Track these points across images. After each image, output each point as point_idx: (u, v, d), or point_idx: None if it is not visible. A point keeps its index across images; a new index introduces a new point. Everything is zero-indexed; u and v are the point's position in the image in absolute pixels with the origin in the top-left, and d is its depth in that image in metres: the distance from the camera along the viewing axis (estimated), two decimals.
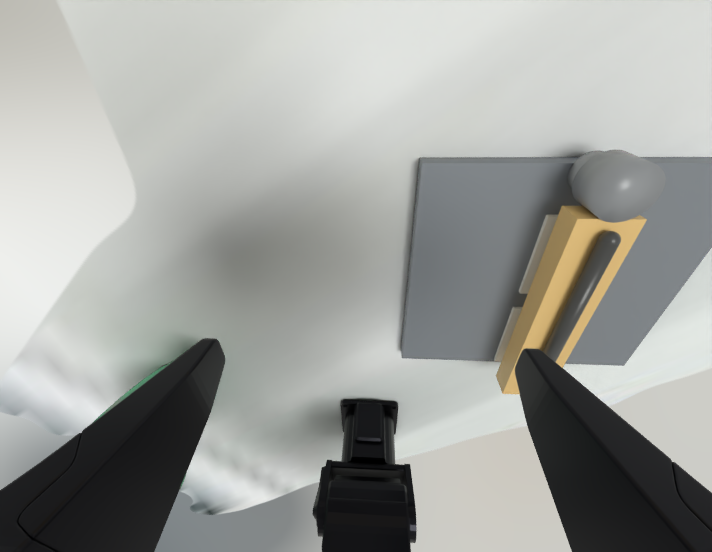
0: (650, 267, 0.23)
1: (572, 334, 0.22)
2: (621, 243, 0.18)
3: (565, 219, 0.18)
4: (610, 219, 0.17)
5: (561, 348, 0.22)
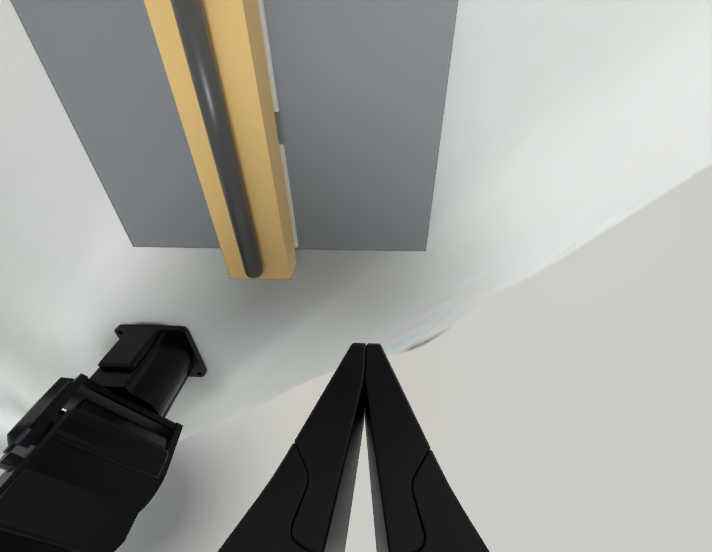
0: (384, 51, 0.15)
1: (255, 151, 0.14)
2: None
3: None
4: None
5: (226, 166, 0.14)
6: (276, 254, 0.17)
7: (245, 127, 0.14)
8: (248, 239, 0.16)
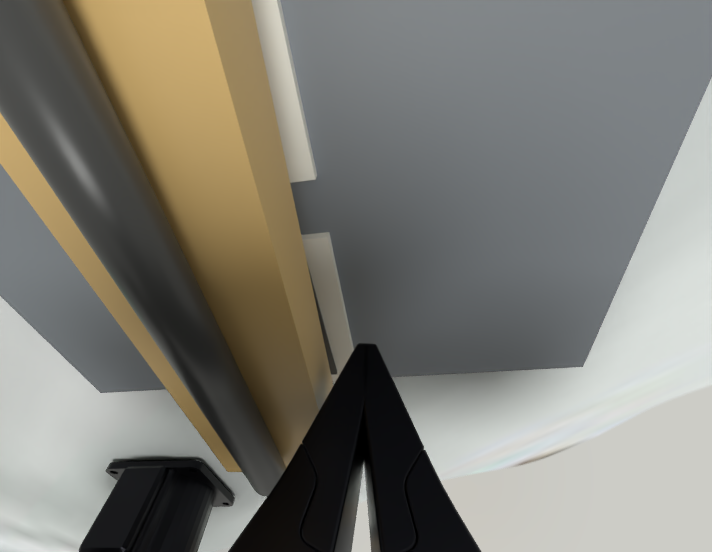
0: (567, 13, 0.06)
1: (258, 303, 0.06)
2: None
3: None
4: None
5: (189, 359, 0.05)
6: None
7: (228, 260, 0.05)
8: (255, 455, 0.08)
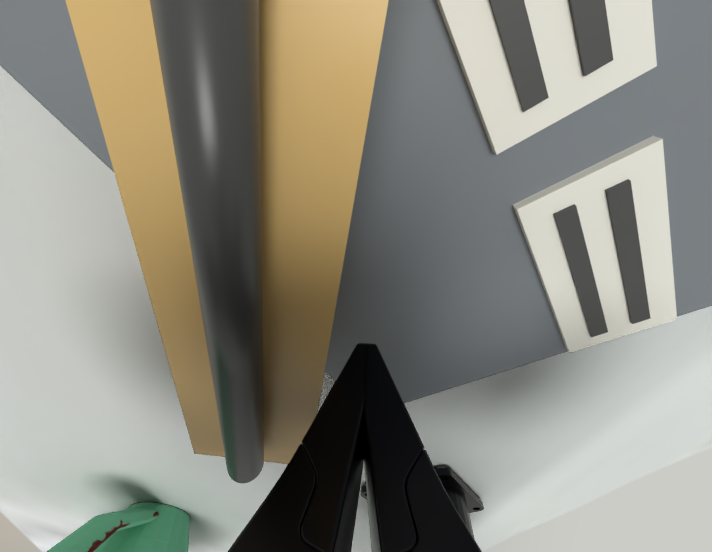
0: None
1: (306, 293, 0.06)
2: None
3: None
4: None
5: (233, 338, 0.05)
6: (293, 438, 0.09)
7: (296, 248, 0.05)
8: (249, 440, 0.08)
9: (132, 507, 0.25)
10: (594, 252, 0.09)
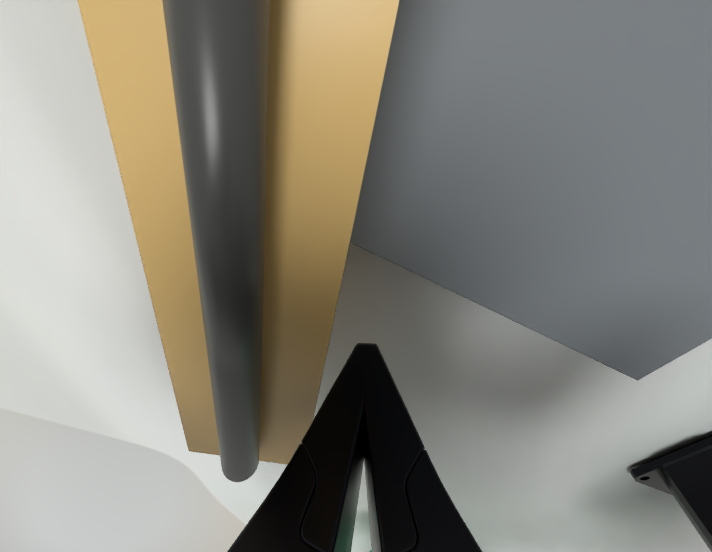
0: None
1: (307, 290, 0.06)
2: None
3: None
4: None
5: (233, 333, 0.05)
6: (290, 437, 0.09)
7: (299, 244, 0.05)
8: (245, 439, 0.07)
9: None
10: None
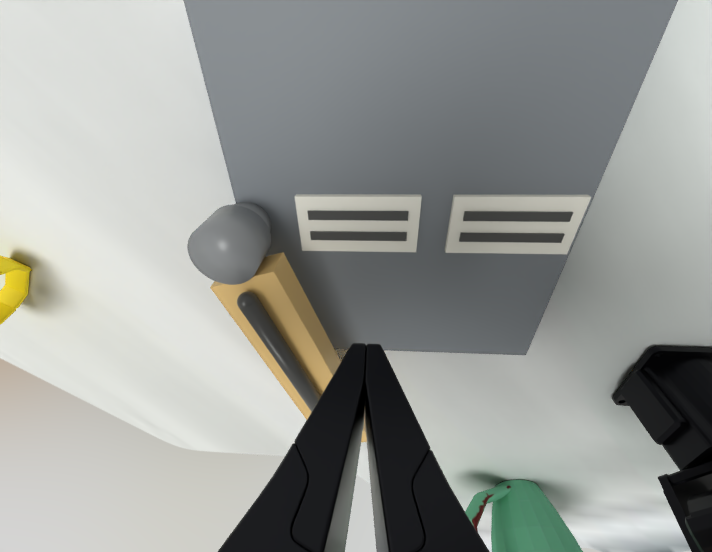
0: (374, 69, 0.13)
1: None
2: (275, 297, 0.16)
3: None
4: (235, 282, 0.15)
5: (313, 404, 0.20)
6: None
7: (319, 375, 0.19)
8: None
9: None
10: (495, 230, 0.16)
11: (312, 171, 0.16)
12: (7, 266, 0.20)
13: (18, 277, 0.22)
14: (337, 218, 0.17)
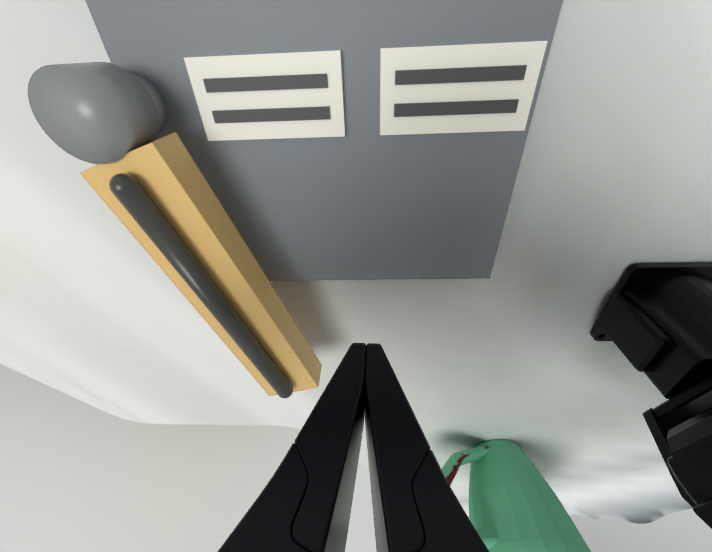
0: None
1: (255, 311, 0.17)
2: (163, 184, 0.13)
3: None
4: (105, 160, 0.12)
5: (236, 334, 0.16)
6: (299, 373, 0.20)
7: (242, 299, 0.16)
8: (272, 374, 0.19)
9: None
10: (436, 97, 0.13)
11: (201, 19, 0.12)
12: None
13: None
14: (241, 89, 0.13)
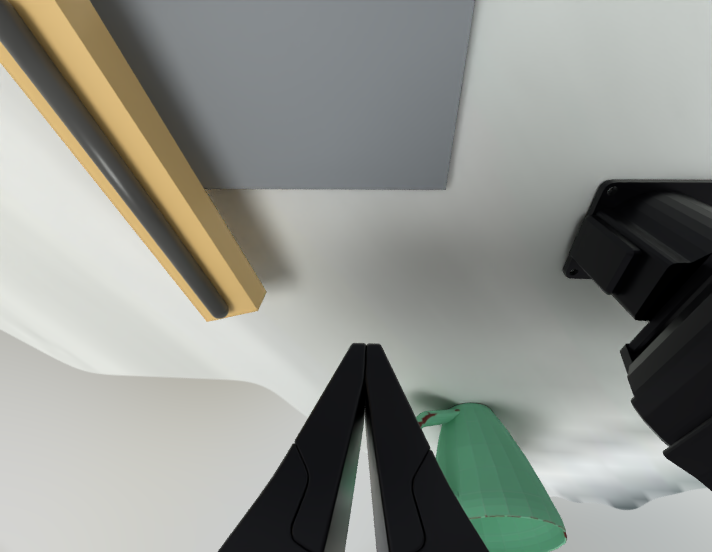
0: None
1: (176, 204, 0.15)
2: (46, 16, 0.11)
3: None
4: None
5: (152, 226, 0.15)
6: (235, 291, 0.18)
7: (158, 186, 0.15)
8: (199, 284, 0.17)
9: None
10: None
11: None
12: None
13: None
14: None
